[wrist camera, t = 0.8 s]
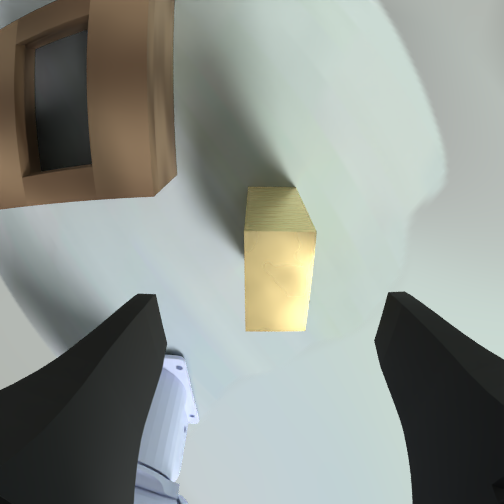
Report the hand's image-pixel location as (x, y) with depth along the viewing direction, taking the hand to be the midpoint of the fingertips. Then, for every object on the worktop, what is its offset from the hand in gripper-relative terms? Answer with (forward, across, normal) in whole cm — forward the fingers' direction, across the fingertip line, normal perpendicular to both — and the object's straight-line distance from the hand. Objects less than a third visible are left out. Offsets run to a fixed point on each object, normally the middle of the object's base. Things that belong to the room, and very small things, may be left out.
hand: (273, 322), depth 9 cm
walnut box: (+8, +10, -8) cm, 15 cm away
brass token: (+8, 0, 0) cm, 9 cm away
